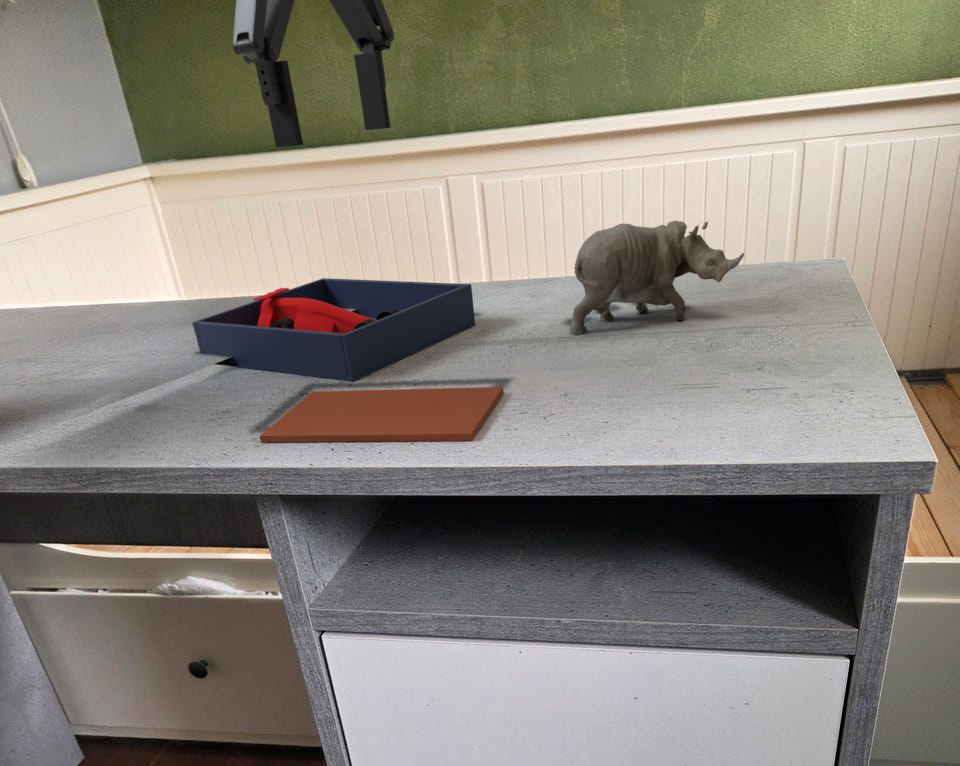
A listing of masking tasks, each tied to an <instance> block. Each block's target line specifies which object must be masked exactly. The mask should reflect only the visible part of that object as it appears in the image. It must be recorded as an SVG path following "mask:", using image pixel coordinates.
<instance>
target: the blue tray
mask: <svg viewBox="0 0 960 766" xmlns="http://www.w3.org/2000/svg"><path fill="white" fill-rule="evenodd" d="M277 298H308V299H315V300H319V301H322V302H325V303H328V304H331V305H334V306H337V307H340V308H343V309H345V310H350V311H351V312H354V313H357V314H360V315H363V316H366V317H368V318H372V319H375V320H376V318H377V316H378V315H379V313H381V312H383V311H385V310H387V309H390V308H392V309H396V310H398V311H399V312H397V313H394V314H392V315H389V316H387V317H384V318H382V319H379V320H377V321H375V322H372V323H370V324H367V325H365V326H362V327H360V328H357V329H355V330H352V331H350V332H347V333H345V334H344V333H333V332H321V331H309V330H297V329H285V328H274V327H262V326H258V320H259V317H260V314H261V305H262V303H263V301H264V300H253V301H251V302H248V303H245V304H242V305H239V306H235V307H234V308H231V309H227V310H224V311H221V312H219V313H216V314H212V315H209V316H207V317H204V318H200V319H197V320H195V321H192V322H191V323H192V327H193V331H194V334H195V338H196V341H197V345H198V349H199V352H200V354H204V355H212V356H213V355H214V356H222V357H228V358H226V359H223V360H221V361H218V362H215V363H214V365H219V366H225V367H226V366H227V367H234V368H240V369H241V368H242V369H250V370H259V371H267V372H275V373H283V374H291V375H299V376H308V377H315V378H323V379H332V380H339V381H346V382H347V381H349V382H356V381H358V380H360V379H362V378H364V377H366V376H368V375H370V374H373V373H374V372H377V371H379V370H382V369H383V368H386V367H388V366H390V365H392V364H394V363H396V362H399V361H400V360H403V359H405V358H407V357H409V356H411V355H414V354H416V353H418V352H420V351H422V350H424V349H426V348H429V347H431V346H434V345H435V344H438V343H439V342H442V341H444V340H447V339H448V338H450V337H453V336H455V335H457V334H459V333H461V332H463V331H465V330H468V329H470V328H472V327H475V326H476V317H475V307H474V298H473V289H472V284H471V283H451V282H425V281H403V280H402V281H401V280H399V281H398V280H375V279H351V278H346V279H345V278H327V277H322V278H320V279H317V280H314V281H311V282H308V283H304V284H302V285H298V286H296V287H292V288H289V290H288V291H285V292H283V293H281V294H279V295H277Z"/></svg>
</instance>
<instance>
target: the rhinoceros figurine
mask: <svg viewBox="0 0 960 766" xmlns="http://www.w3.org/2000/svg"><path fill="white" fill-rule="evenodd" d="M708 224H709V222H708V221H705V222H704V223H703V225H702V227H701V230H706V229H707V228H708ZM699 227H700V226H699V225H697V224H696V225H695V226H694V228H693V230H691V231H688V233H689V234H688V235H686V232H687V228H688V226H687V224H686V222H684V221H679V220H672V221H668V223H667V224H666V225H664V224H660V225H658V226H654V227H648V226H638V225H637V226H636V225H633V224H632V223H619V224H616V225H614V226H612V227H609V228H605V229H601V230H597V231H595V232H593V233H592V234H591V235H590V236H588V238H586V239H585V240H584V241H583V243H582V244H581V247H580V248H579V250H578V252H577V255H576V258H575V263H574V268H573V269H574V275H575V278H576V279H577V280H578V282H580V283H581V285H582V287H583V290H584V297H583V298H582V299H581V301H580V302H578V304H576V305H575V307H574V309H573V314H572V319H571V320H572V321H571V322H570V324H569V328H570V330H569V331H570V333H572V334H573V335H576V336H577V335H584V334H586V333H588V332H589V331H588V329H587V327H586V325H585V319H586V317H587V316H589V315H591V313H592V312H593V311H596V313H598V314H599V321H602V322H605V323H606V322H609V323H611V321H612V319H615V316H614V314H613V312H612V311H611V310H610V307H611V304H613V303H622V304H635V303H636V304H635V309H636V313H635V314H636V315H637V314H647V313H646V312H648V313H650V310H649V308H648V305H647V304H649V305H653V306H662V307H663V306H667V305H672V306H673V307H674V308H675V311H676V317H675V320H676V321H677V320H682V319H684V320H686V319H685V318H686V317H685V310H686V303H685V300H684V298H683V296H681V294H680V293H679V292H678V291H677V289H676V288H675V286H674V281H675V279H677V278H679V277H682V276H684V275H686V274H689V273H690V274H691V273H692V274H694V275H697V276H698V277H699V278H700V279H701V280H714V281H716V282H717V283H721V281H722V280H723V278H724V277H725V275H727V274H728V273H729V272H730V271H731V270H734V269H735V268H737V266H739V264H740V263H741V261H742V260H743V258H744V256H745V252H742V253H741V254H740V255H738V257H736V258H733V259H729V258H726V255H725V252H724V250H722V249H719V248H718V249H715V248H712V247H710V246H709V244H707V242H706V241H705V239H704V238H703V237H702V235H701V234H698V231H699ZM685 235H686V236H685ZM682 321H683V320H682Z"/></svg>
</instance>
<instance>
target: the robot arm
mask: <svg viewBox="0 0 960 766" xmlns="http://www.w3.org/2000/svg"><path fill="white" fill-rule="evenodd" d="M328 1H329V3H330V4H331V6H332V7H333V9H334V11H335V12H336V14H337V16H338V17H339V19H340V21H341V22H342V24H343V25H344V27H345V29H346V31H347V32H348V34H349V35H350V37H351V39H352V41H353V42H354V44H355V46H356V47H357V49H358V50H359V52H360V53H359V54H353V55H354V56H353V58H354V64H355V70H356V71H355V72H356V77H357V83H358V91H359V96H360V103H361V110H362V116H363V124H364V129H365V131H371V130H373V131H374V130H383V129H384V130H385V129H390V128H391V121H390V115H389V106H388V99H387V93H386V87H387V81H386V73H385V66H384V58H383V51H389V50H390V49H391V47H392V42H393V41H394V40H395V32H394V29H393V26H392V24H391V21H390V19H389V16H388V13H387V10H386V7H385V5H384V2H383V0H328ZM294 4H295V0H235V11H234V22H233V23H234V24H233V35H232V49H233V51H234V53H235V55H236V56H239V57H241V56H242V58H243V60H244V62H245V64H247V65H253V64H254V65H255V69H256V73H257V78H258V82H259V86H260V87H259V88H260V92H261V93H260V94H261V99H262V101H263V103H264V106H267V109H268V115H269V119H270V125H271V129H272V134H273V139H274V144H275V148H284V147H285V148H286V147H297V146H303V145H304V141H303V137H302V131H301V126H300V121H299V116H298V109H297V105H296V100H295V94H294V89H293V84H292V79H291V72H290V68H289V67H290V66H289V62H288V60H279V58H280V56H281V55H280V54H281V51H282V47H283V43H284V40H285V36H286V33H287V29H288V25H289V22H290V18H291V15H292V11H293V8H294ZM278 60H279V61H278Z"/></svg>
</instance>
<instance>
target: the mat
mask: <svg viewBox="0 0 960 766" xmlns="http://www.w3.org/2000/svg"><path fill="white" fill-rule="evenodd" d="M504 391H505V390H504V386H485V387H483V386H481V387H479V386H478V387H445V388H444V387H443V388H440V387H439V388H409V389H408V388H401V389H399V388H398V389H365V390H364V389H363V390H362V389H360V390H359V389H357V390H356V389H355V390H324V391H323V390H322V391H321V390H320V391H319V390H318V391H316V390H315V391H311V392H310V393H308V394H307V395H306V396H305V397H304V398H302V400H301V401H299V402H298V403H297V404H296V405H294V406H293V407H292V408H291V409H289V410H288V411H287V412H286V413H285V414H283V416H281V417H280V418H278V420H276V421H275V422H274V423H273V424H271V426H269V427H268V428H266V430H265V431H263V432H262V433H261V434H259V440H260V443H341V442H342V443H350V442H353V443H355V442H356V443H357V442H361V443H362V442H367V443H368V442H463V441H464V442H467V441H468V442H471V441H473V440H474V438H475V437H476V435H477V434H478V433H479V431H480V429H481V428H482V426H483V425H484V424H485V422H486V420H487V419H488V418H489V416H490V415H491V413H492V411H493V410H494V409H495V407H496V406H497V404H498V402H499V401H500V400H501V398H502V396H503V395H504Z"/></svg>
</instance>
